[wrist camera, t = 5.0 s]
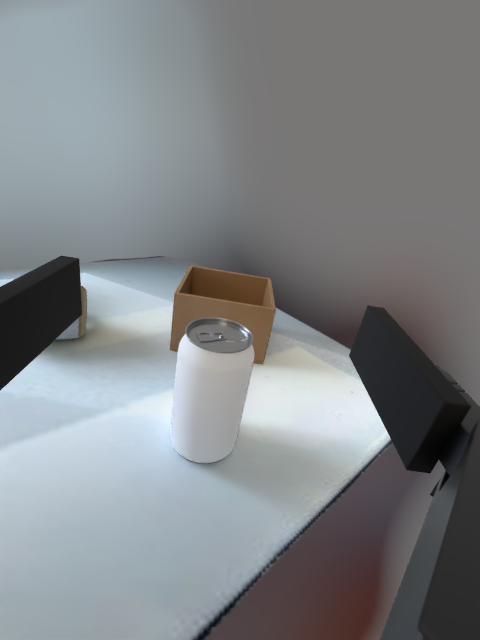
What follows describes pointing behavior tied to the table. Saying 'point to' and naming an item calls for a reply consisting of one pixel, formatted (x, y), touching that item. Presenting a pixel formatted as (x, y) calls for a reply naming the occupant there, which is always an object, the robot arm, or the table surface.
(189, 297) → the box
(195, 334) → the can
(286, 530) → the table surface
